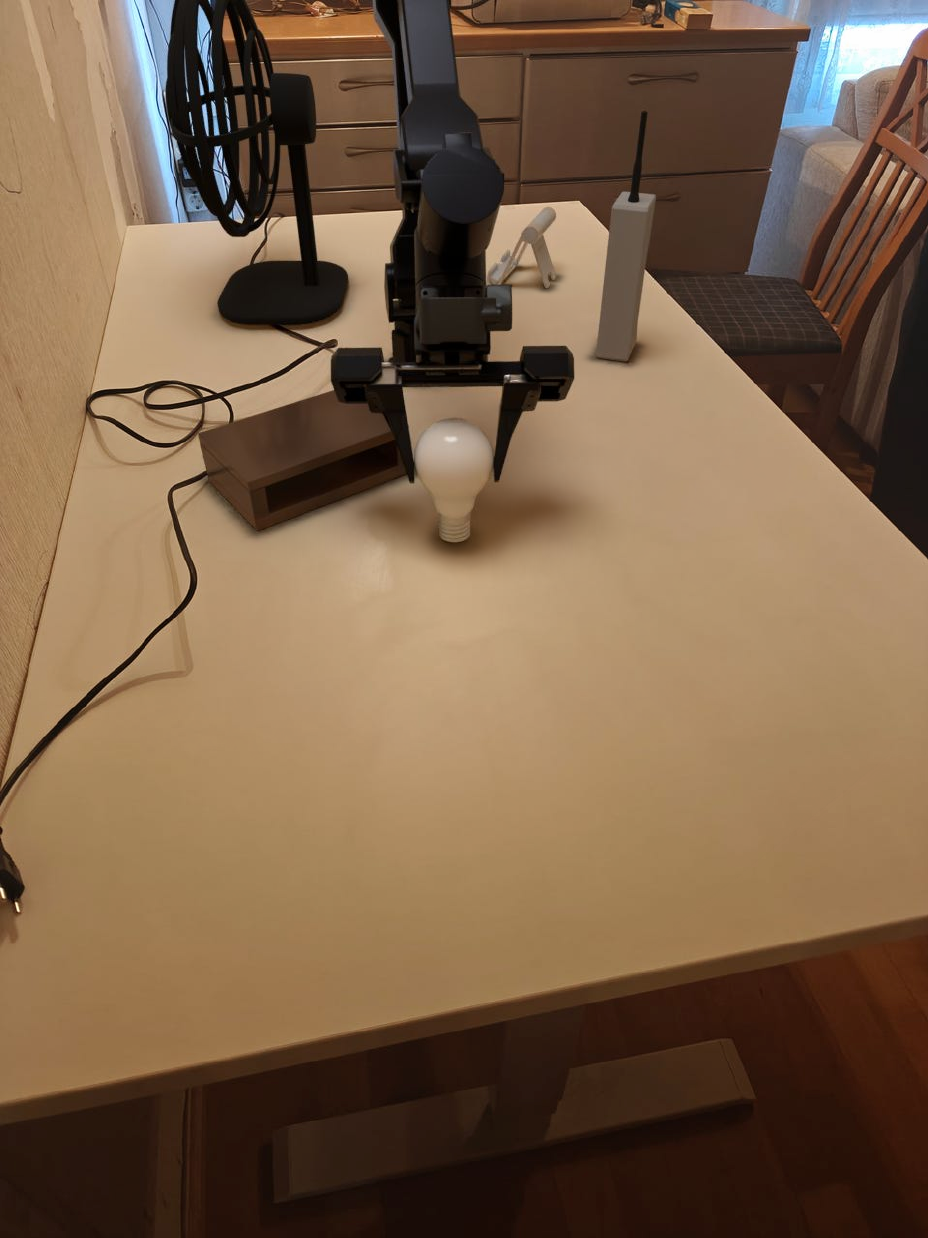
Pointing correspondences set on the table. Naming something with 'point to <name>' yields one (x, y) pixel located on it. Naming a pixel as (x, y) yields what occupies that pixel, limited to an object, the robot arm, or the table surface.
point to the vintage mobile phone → (625, 265)
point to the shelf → (299, 457)
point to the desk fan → (269, 285)
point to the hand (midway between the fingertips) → (454, 481)
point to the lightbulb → (454, 471)
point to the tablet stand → (529, 236)
